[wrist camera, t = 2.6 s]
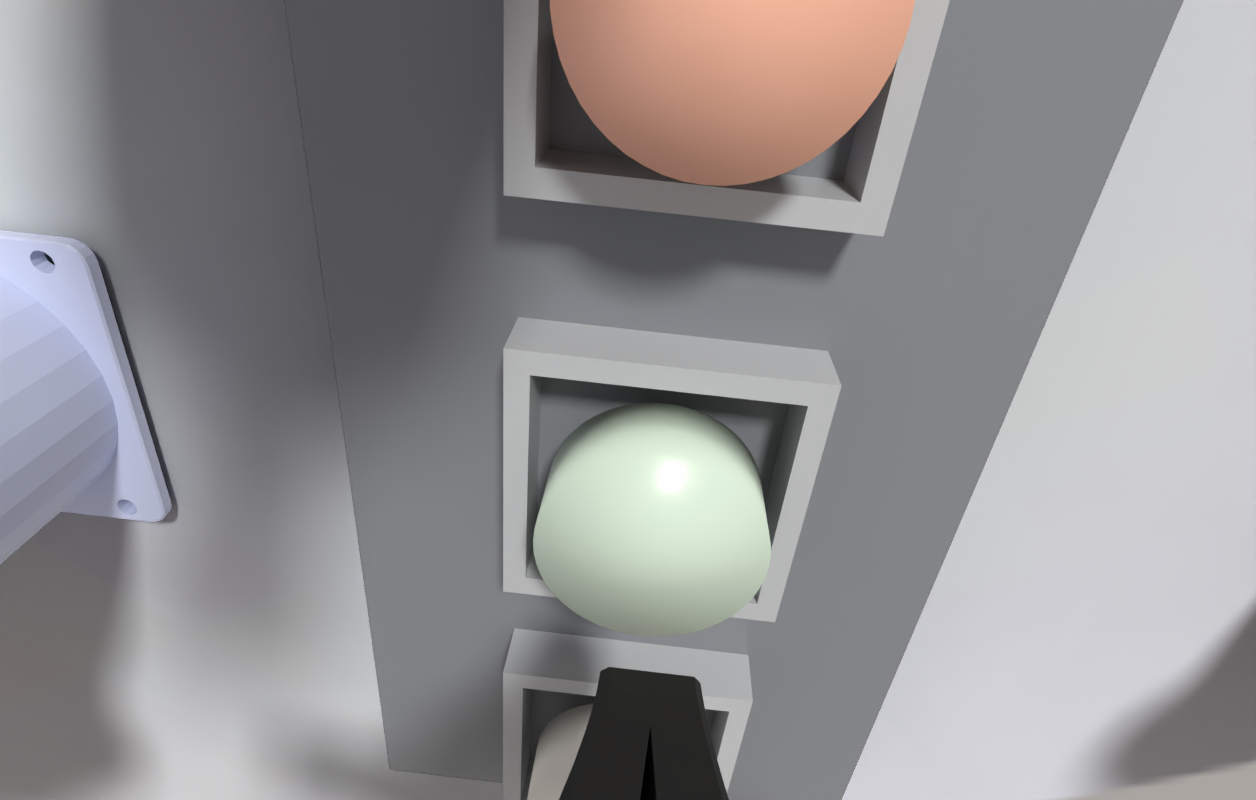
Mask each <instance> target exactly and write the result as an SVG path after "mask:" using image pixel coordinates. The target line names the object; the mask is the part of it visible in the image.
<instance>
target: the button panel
mask: <svg viewBox="0 0 1256 800" xmlns="http://www.w3.org/2000/svg"><path fill="white" fill-rule="evenodd" d="M284 2H285V9H286V17H287V24H288V31H289V39H290V46H291V53H292V60H293V68H294V75H295V82H296V90H297V97H298V104H299V112H300V119H301V126H302V133H303V141H304V148H305V155H306V163H307V170H308V177H309V185H310V192H311V199H312V207H313V214H314V221H315V228H316V236H317V243H318V250H319V258H320V265H321V272H322V280H323V287H324V294H325V301H326V309H327V316H328V323H329V331H330V338H331V345H332V353H333V360H334V367H335V375H336V382H337V389H338V396H339V404H340V411H341V418H342V426H343V433H344V440H345V448H346V455H347V462H348V469H349V477H350V484H351V491H352V499H353V506H354V513H355V521H356V528H357V535H358V543H359V550H360V557H361V564H362V572H363V579H364V586H365V594H366V601H367V608H368V616H369V623H370V630H371V637H372V645H373V652H374V659H375V667H376V674H377V681H378V689H379V696H380V703H381V711H382V718H383V725H384V732H385V740H386V747H387V754H388V762H389V769H390V770H396V771H405V772H414V773H422V774H431V775H440V776H448V777H457V778H465V779H474V780H483V781H491V782H500V783H503V800H527V797H528V792H529V787H530V781H531V776H532V771H533V765H534V760H535V755H536V749H537V744H538V739H539V736H540V734H541V732H542V730H543V728H544V727H545V726H546V725H547V724H548V723H549V721H551V720H552V719H553V718H555V717H556V716H557V715H559V714H561V713H563V712H565V711H567V710H569V709H572V708H575V707H578V706H582V705H587V704H592V703H594V700H595V696H596V692H597V687H598V681H599V675H600V671H602V670H604V669H606V668H607V667H615V668H624V669H632V670H641V671H650V672H658V673H667V674H675V675H684V676H693V677H695V678H696V679H697V680H698V681H699V682H700V683H701V689H702V696H703V701H704V706H705V712H706V717H707V721H708V725H709V730H710V734H711V738H712V742H713V746H714V750H715V753H716V757H717V761H718V764H719V768H720V771H721V775H722V778H723V782H724V785H725V788H726V792H727V795H728V798H729V800H842V797H843V795H844V793H845V790H846V788H847V786H848V783H849V781H850V779H851V776H852V774H853V772H854V769H855V767H856V765H857V762H858V760H859V758H860V755H861V753H862V751H863V748H864V746H865V744H866V741H867V739H868V737H869V734H870V732H871V730H872V727H873V725H874V723H875V720H876V718H877V716H878V713H879V711H880V709H881V706H882V704H883V701H884V699H885V697H886V694H887V692H888V690H889V687H890V685H891V683H892V680H893V678H894V676H895V673H896V671H897V669H898V666H899V664H900V662H901V659H902V657H903V655H904V652H905V650H906V648H907V645H908V643H909V641H910V638H911V636H912V634H913V631H914V629H915V627H916V624H917V622H918V620H919V617H920V615H921V613H922V610H923V608H924V606H925V603H926V601H927V599H928V596H929V594H930V592H931V589H932V587H933V585H934V582H935V580H936V578H937V575H938V573H939V571H940V568H941V566H942V564H943V561H944V559H945V557H946V554H947V552H948V550H949V547H950V545H951V543H952V540H953V538H954V536H955V533H956V531H957V529H958V526H959V524H960V522H961V519H962V517H963V515H964V512H965V510H966V508H967V505H968V503H969V501H970V498H971V496H972V493H973V491H974V489H975V486H976V484H977V482H978V479H979V477H980V475H981V472H982V470H983V468H984V465H985V463H986V461H987V458H988V456H989V454H990V451H991V449H992V447H993V444H994V442H995V440H996V437H997V435H998V433H999V430H1000V428H1001V426H1002V423H1003V421H1004V419H1005V416H1006V414H1007V412H1008V409H1009V407H1010V405H1011V402H1012V400H1013V398H1014V395H1015V393H1016V391H1017V388H1018V386H1019V384H1020V381H1021V379H1022V377H1023V374H1024V372H1025V370H1026V367H1027V365H1028V363H1029V360H1030V358H1031V356H1032V353H1033V351H1034V349H1035V346H1036V344H1037V342H1038V339H1039V337H1040V335H1041V332H1042V330H1043V328H1044V325H1045V323H1046V321H1047V318H1048V316H1049V314H1050V311H1051V309H1052V307H1053V304H1054V302H1055V300H1056V297H1057V295H1058V293H1059V290H1060V288H1061V286H1062V283H1063V281H1064V278H1065V276H1066V274H1067V271H1068V269H1069V267H1070V264H1071V262H1072V260H1073V257H1074V255H1075V253H1076V250H1077V248H1078V246H1079V243H1080V241H1081V239H1082V236H1083V234H1084V232H1085V229H1086V227H1087V225H1088V222H1089V220H1090V218H1091V215H1092V213H1093V211H1094V208H1095V206H1096V204H1097V201H1098V199H1099V197H1100V194H1101V192H1102V190H1103V187H1104V185H1105V183H1106V180H1107V178H1108V176H1109V173H1110V171H1111V169H1112V166H1113V164H1114V162H1115V159H1116V157H1117V155H1118V152H1119V150H1120V148H1121V145H1122V143H1123V141H1124V138H1125V136H1126V134H1127V131H1128V129H1129V127H1130V124H1131V122H1132V120H1133V117H1134V115H1135V113H1136V110H1137V108H1138V106H1139V103H1140V101H1141V99H1142V96H1143V94H1144V92H1145V89H1146V87H1147V85H1148V82H1149V80H1150V78H1151V75H1152V73H1153V70H1154V68H1155V66H1156V63H1157V61H1158V59H1159V56H1160V54H1161V52H1162V49H1163V47H1164V45H1165V42H1166V40H1167V38H1168V35H1169V33H1170V31H1171V28H1172V26H1173V24H1174V21H1175V19H1176V17H1177V14H1178V12H1179V10H1180V7H1181V5H1182V3H1183V0H915V4H914V9H913V14H912V19H911V23H910V26H909V29H908V32H907V36H906V39H905V42H904V45H903V48H902V50H901V52H900V55H899V57H898V59H897V61H896V64H895V66H894V68H893V70H892V72H891V74H890V76H889V77H888V79H887V81H886V83H885V84H884V86H883V88H882V89H881V91H880V93H879V94H878V96H877V97H876V98H875V100H874V101H873V102H872V104H871V105H870V106H869V108H868V109H867V111H866V112H865V113H864V115H863V116H862V117H861V118H860V119H859V120H858V121H857V122H856V123H855V124H854V125H853V126H852V127H851V128H850V130H849V131H848V132H847V133H846V134H844V135H843V136H842V137H841V138H840V139H839V140H837V141H836V142H835V143H834V144H833V145H832V146H830V147H829V148H828V149H826V150H825V151H823V152H822V153H820V154H819V155H817V156H816V157H814V158H813V159H811V160H810V161H808V162H806V163H804V164H802V165H801V166H799V167H797V168H795V169H793V170H791V171H789V172H786V173H783V174H780V175H778V176H775V177H772V178H769V179H766V180H762V181H757V182H753V183H748V184H740V185H729V186H715V185H701V184H695V183H689V182H684V181H680V180H677V179H674V178H671V177H668V176H664V175H662V174H660V173H658V172H655V171H653V170H651V169H649V168H647V167H645V166H643V165H641V164H640V163H638V162H637V161H635V160H634V159H632V158H631V157H629V156H628V155H626V154H625V153H624V152H622V151H621V150H620V149H619V148H618V147H616V146H615V145H614V144H613V143H612V142H611V141H609V140H608V139H607V137H606V136H605V135H604V134H603V133H602V132H601V131H600V130H599V129H598V128H597V126H596V125H595V124H594V123H593V122H592V120H591V119H590V117H589V116H588V115H587V113H586V112H585V110H584V109H583V107H582V106H581V105H580V103H579V101H578V99H577V97H576V95H575V93H574V92H573V90H572V88H571V86H570V84H569V82H568V79H567V77H566V74H565V72H564V69H563V66H562V64H561V61H560V58H559V54H558V50H557V47H556V43H555V39H554V34H553V27H552V20H551V13H550V0H284ZM636 403H667V404H673V405H679V406H683V407H687V408H690V409H694V410H697V411H699V412H701V413H704V414H706V415H709V416H710V417H712V418H714V419H716V420H717V421H719V422H721V423H722V424H724V425H725V426H726V427H728V428H729V429H730V430H732V431H733V432H734V433H735V434H736V435H737V436H738V437H739V438H740V439H741V440H742V441H743V443H744V444H745V445H746V447H747V448H748V449H749V450H750V452H751V454H752V456H753V458H754V460H755V462H756V464H757V467H758V470H759V473H760V479H761V484H762V491H763V497H764V504H765V510H766V516H767V523H768V529H769V536H770V542H771V558H770V564H769V569H768V572H767V575H766V577H765V580H764V581H763V583H762V585H761V587H760V589H759V590H758V592H757V593H756V594H755V595H754V597H753V598H752V599H751V600H750V601H749V602H748V603H747V604H746V605H745V606H744V607H743V608H742V609H740V610H739V611H738V612H736V613H735V614H734V615H732V616H731V617H729V618H727V619H726V620H724V621H722V622H720V623H718V624H715V625H713V626H711V627H709V628H705V629H702V630H699V631H696V632H692V633H687V634H682V635H674V636H654V637H653V636H639V635H633V634H626V633H622V632H618V631H614V630H611V629H608V628H605V627H602V626H599V625H597V624H595V623H593V622H591V621H589V620H586V619H585V618H583V617H581V616H580V615H578V614H576V613H575V612H573V611H572V610H571V609H569V608H568V607H567V606H566V605H564V604H563V603H562V602H561V601H560V600H559V599H558V598H557V597H556V596H555V595H554V594H553V593H552V591H551V590H550V589H549V588H548V586H547V585H546V583H545V581H544V580H543V578H542V576H541V575H540V572H539V570H538V567H537V565H536V561H535V556H534V550H533V537H534V529H535V525H536V521H537V517H538V514H539V510H540V506H541V502H542V499H543V495H544V491H545V487H546V483H547V480H548V476H549V472H550V469H551V465H552V462H553V459H554V457H555V455H556V453H557V451H558V449H559V448H560V446H561V445H562V443H563V442H564V440H565V439H566V438H567V437H568V436H569V435H570V434H571V433H572V432H573V431H574V430H575V429H576V428H578V427H579V426H580V425H581V424H583V423H584V422H586V421H587V420H589V419H591V418H592V417H594V416H596V415H598V414H600V413H603V412H605V411H607V410H610V409H614V408H617V407H620V406H625V405H631V404H636Z"/></svg>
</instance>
